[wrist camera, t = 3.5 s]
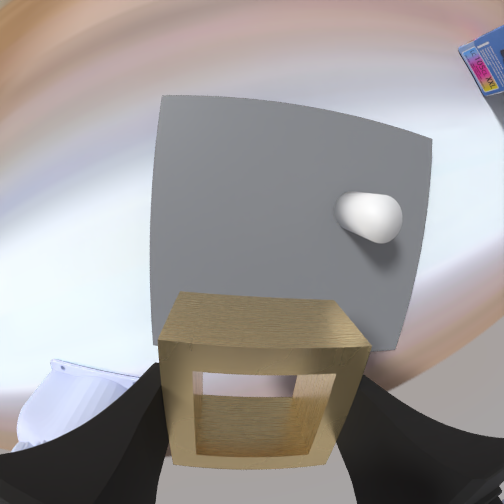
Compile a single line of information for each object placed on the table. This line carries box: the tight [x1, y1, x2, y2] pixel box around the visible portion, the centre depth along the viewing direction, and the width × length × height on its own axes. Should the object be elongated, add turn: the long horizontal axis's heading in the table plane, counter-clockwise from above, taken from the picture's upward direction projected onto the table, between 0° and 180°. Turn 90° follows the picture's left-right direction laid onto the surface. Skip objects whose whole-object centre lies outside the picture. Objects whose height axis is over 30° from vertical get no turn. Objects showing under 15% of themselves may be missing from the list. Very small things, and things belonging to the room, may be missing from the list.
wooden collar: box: [158, 291, 372, 469], centre depth 9 cm, size 6×6×4 cm
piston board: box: [150, 95, 432, 352], centre depth 16 cm, size 18×16×5 cm
